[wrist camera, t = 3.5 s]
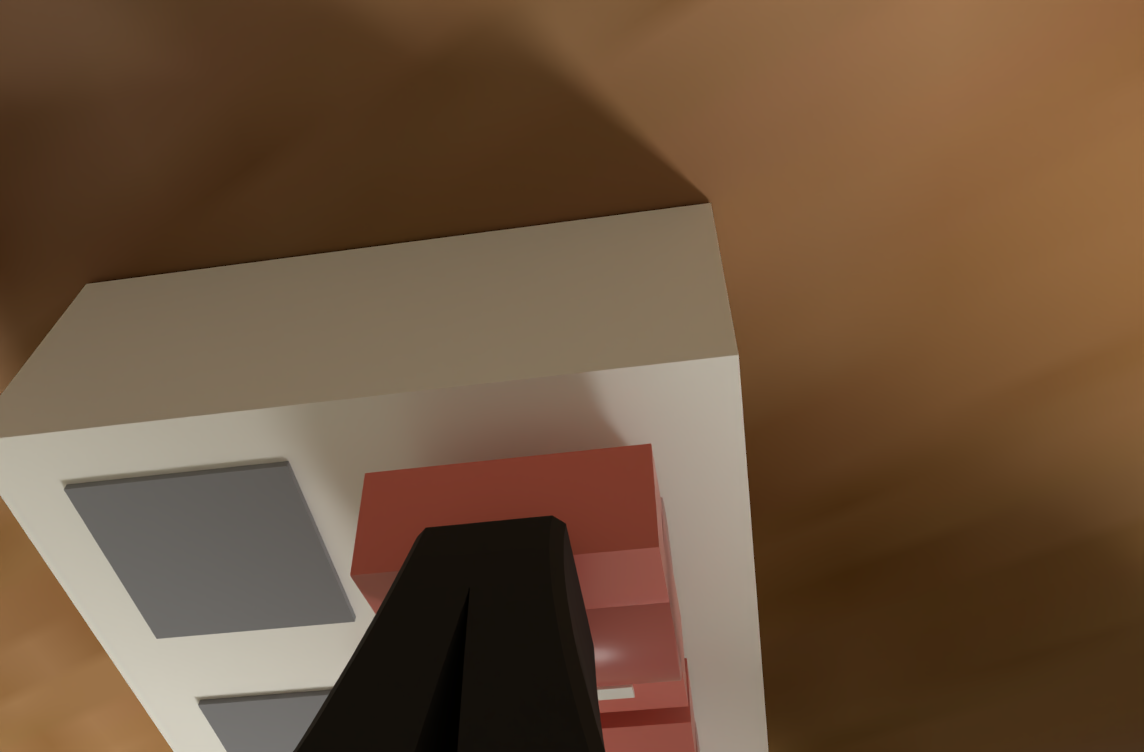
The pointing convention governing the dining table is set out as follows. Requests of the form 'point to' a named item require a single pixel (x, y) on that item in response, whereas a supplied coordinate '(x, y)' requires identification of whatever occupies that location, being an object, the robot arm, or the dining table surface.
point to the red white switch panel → (370, 448)
